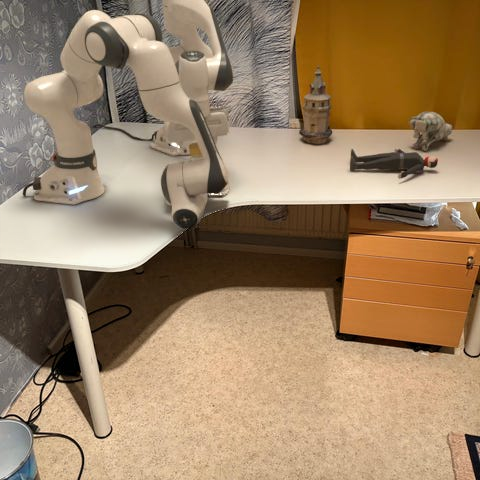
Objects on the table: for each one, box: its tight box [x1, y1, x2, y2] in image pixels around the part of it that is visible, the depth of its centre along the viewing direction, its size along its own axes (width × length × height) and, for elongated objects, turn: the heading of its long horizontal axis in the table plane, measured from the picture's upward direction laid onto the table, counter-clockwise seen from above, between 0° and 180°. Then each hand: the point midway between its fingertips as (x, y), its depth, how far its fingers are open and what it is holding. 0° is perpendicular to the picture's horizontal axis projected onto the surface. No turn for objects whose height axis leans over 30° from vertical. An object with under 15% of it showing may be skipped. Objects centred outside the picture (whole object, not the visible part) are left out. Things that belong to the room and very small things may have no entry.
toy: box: [349, 148, 439, 180], centre depth 190 cm, size 26×6×30 cm
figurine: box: [408, 111, 453, 152], centre depth 210 cm, size 10×19×20 cm
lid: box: [189, 143, 202, 156], centre depth 168 cm, size 5×5×2 cm
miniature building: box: [298, 65, 333, 145], centre depth 213 cm, size 13×14×30 cm
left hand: (199, 177), depth 173 cm, fingers closed on jar, 5 cm apart
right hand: (197, 152), depth 168 cm, fingers open, 8 cm apart
